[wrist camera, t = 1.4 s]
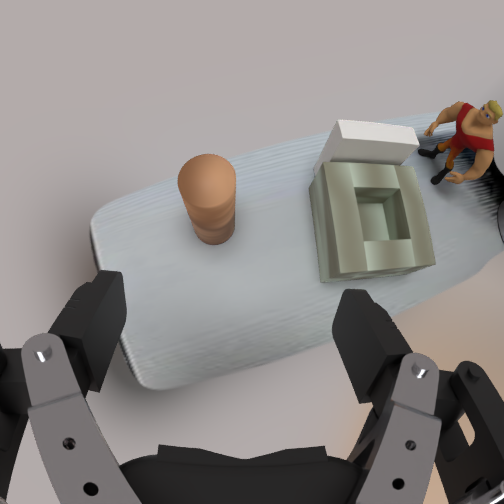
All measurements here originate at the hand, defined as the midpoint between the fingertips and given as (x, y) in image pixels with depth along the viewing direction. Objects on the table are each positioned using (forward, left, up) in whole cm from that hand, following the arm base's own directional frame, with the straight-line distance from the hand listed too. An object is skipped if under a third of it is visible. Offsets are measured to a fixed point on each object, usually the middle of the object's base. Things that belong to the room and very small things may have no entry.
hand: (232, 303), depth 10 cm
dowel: (+1, -9, -18) cm, 20 cm away
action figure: (-27, -16, -18) cm, 36 cm away
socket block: (-14, -7, -18) cm, 24 cm away
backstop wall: (-14, -14, -18) cm, 26 cm away
